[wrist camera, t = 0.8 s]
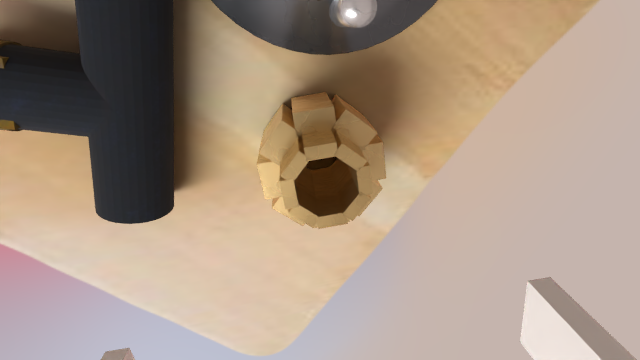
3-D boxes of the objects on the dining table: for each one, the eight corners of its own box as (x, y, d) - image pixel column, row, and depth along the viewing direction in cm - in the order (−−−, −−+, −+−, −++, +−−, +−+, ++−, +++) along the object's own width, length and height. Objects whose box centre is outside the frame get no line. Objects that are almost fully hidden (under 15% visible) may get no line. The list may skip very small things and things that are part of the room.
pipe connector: (-36, 212, 22) (-111, -78, 16) (21, 178, 27) (-21, -55, 21) (162, 227, 24) (157, -30, 18) (181, 193, 29) (183, -19, 23)
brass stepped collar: (253, 104, 26) (241, 132, 19) (363, 85, 26) (390, 107, 19) (276, 201, 29) (272, 256, 22) (373, 184, 29) (399, 234, 22)
